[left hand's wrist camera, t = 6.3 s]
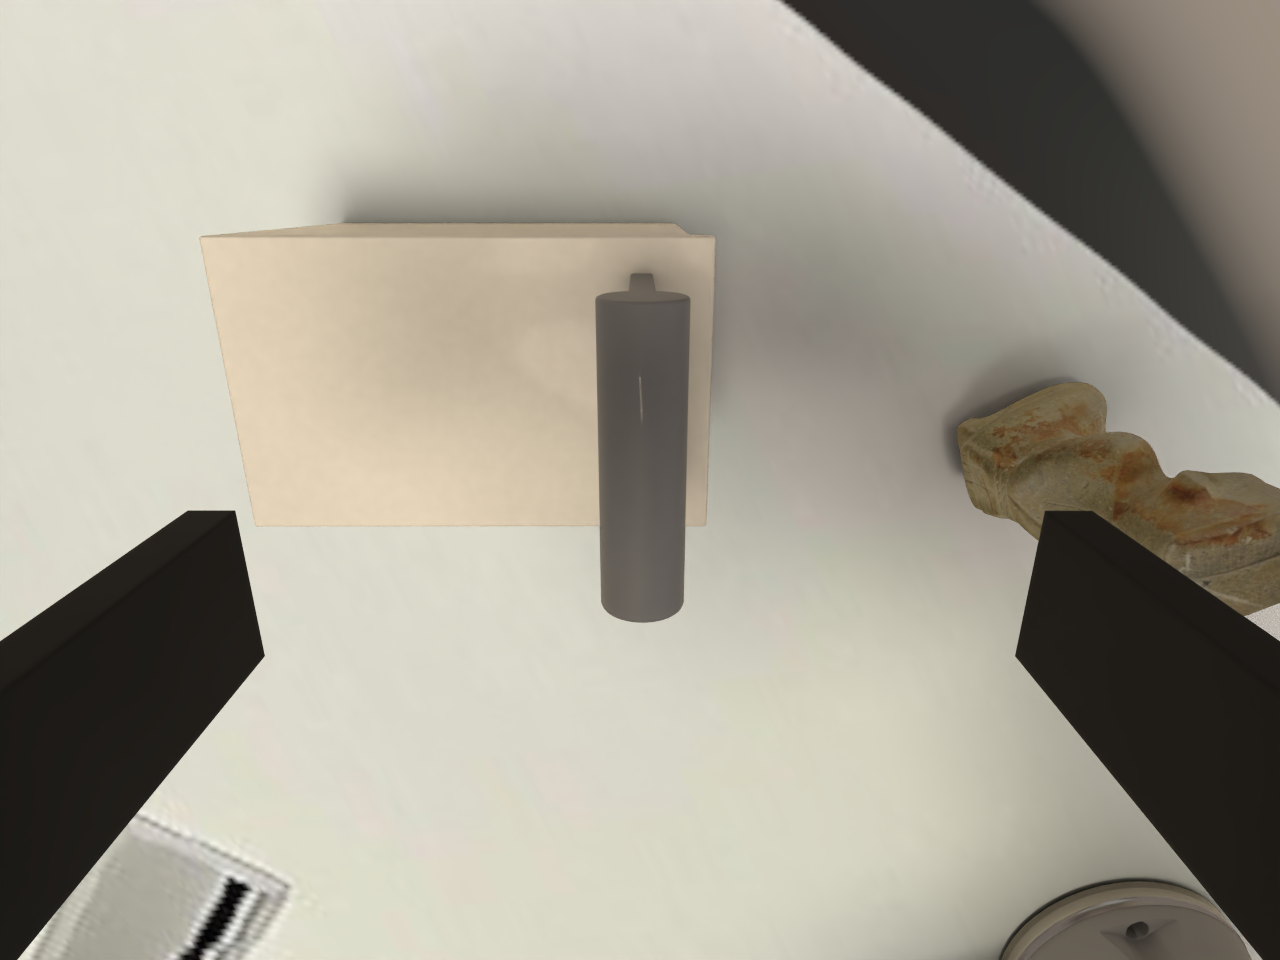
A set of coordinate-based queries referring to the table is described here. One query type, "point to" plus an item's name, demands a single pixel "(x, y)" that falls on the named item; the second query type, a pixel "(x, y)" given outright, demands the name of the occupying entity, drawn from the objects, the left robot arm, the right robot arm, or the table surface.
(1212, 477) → the sculpture
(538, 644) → the table surface
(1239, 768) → the left robot arm
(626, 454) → the lid
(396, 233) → the chest
